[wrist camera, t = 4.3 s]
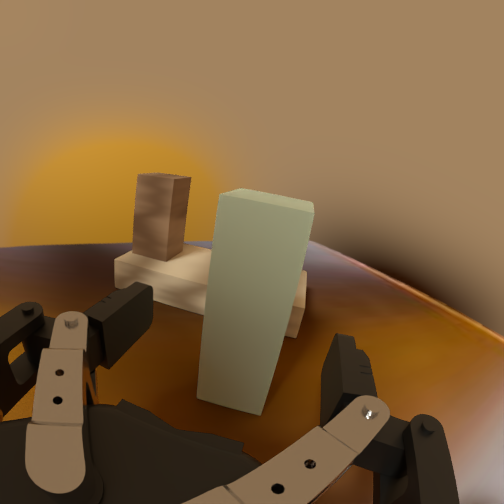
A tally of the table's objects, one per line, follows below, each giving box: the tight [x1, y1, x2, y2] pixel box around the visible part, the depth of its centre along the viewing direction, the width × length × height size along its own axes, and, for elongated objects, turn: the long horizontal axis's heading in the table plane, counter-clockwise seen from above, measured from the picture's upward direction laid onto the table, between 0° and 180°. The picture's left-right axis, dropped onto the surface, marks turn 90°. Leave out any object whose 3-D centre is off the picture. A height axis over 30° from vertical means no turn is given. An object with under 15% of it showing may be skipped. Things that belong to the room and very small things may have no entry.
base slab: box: [114, 173, 307, 338], centre depth 28 cm, size 18×9×11 cm, turn 79°
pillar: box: [197, 188, 314, 416], centre depth 15 cm, size 4×4×12 cm
